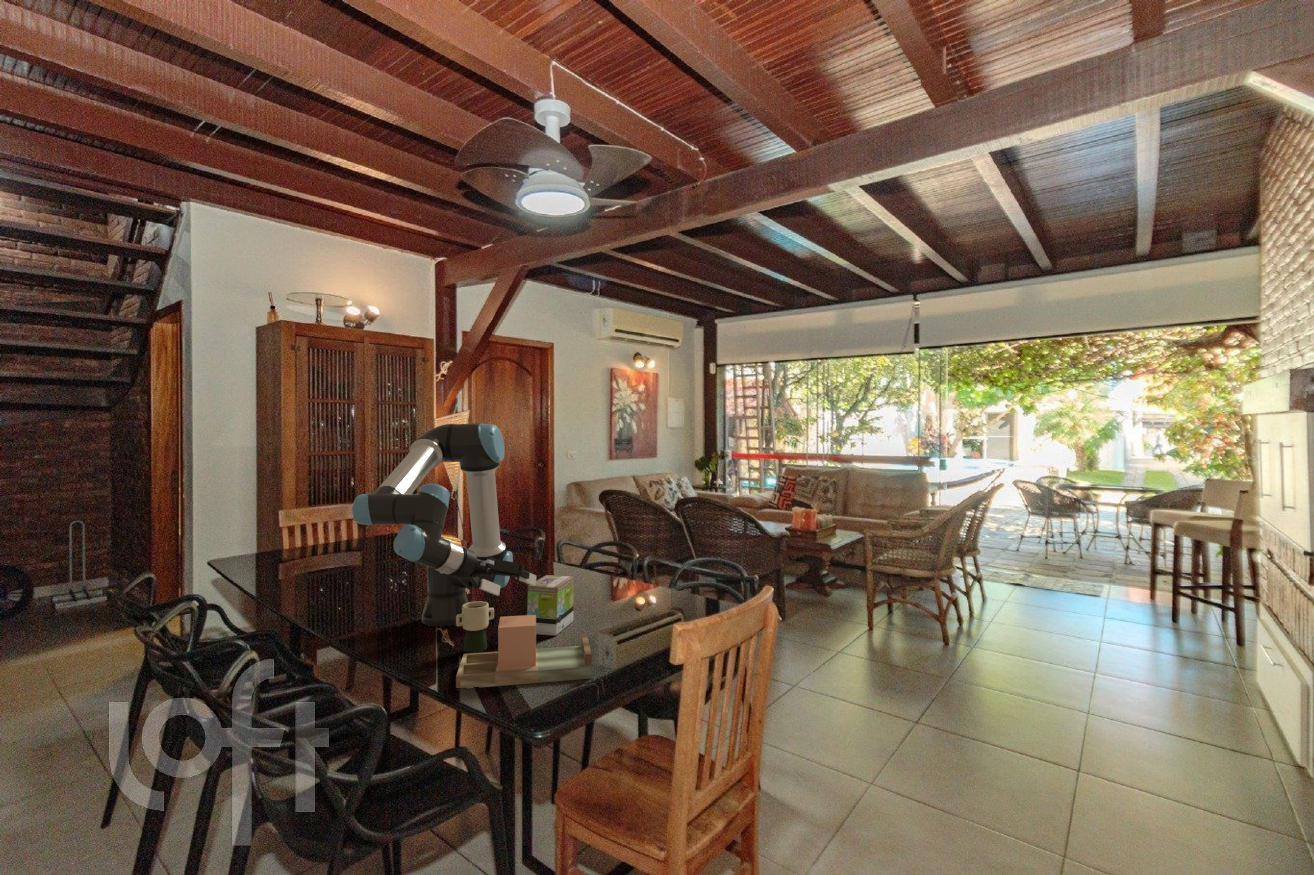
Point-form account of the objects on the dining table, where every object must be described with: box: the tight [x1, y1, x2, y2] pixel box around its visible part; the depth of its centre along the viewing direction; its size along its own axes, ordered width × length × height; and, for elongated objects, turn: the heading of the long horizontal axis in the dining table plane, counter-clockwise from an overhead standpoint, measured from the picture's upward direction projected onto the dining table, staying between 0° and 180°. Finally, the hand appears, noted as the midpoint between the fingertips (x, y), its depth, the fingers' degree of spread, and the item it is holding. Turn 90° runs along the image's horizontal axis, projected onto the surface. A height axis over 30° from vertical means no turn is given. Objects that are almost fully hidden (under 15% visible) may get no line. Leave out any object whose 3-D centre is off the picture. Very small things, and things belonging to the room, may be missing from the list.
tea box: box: [526, 574, 575, 636], centre depth 189 cm, size 15×10×15 cm
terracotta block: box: [497, 614, 537, 669], centre depth 153 cm, size 9×9×10 cm
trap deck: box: [455, 633, 593, 689], centre depth 153 cm, size 15×32×6 cm, turn 101°
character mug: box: [455, 600, 495, 654], centre depth 168 cm, size 11×7×13 cm, turn 129°
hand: (516, 585), depth 165 cm, fingers open, 13 cm apart
